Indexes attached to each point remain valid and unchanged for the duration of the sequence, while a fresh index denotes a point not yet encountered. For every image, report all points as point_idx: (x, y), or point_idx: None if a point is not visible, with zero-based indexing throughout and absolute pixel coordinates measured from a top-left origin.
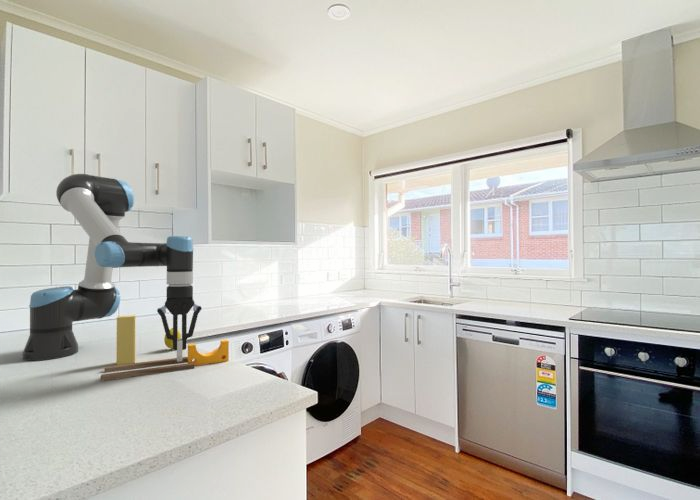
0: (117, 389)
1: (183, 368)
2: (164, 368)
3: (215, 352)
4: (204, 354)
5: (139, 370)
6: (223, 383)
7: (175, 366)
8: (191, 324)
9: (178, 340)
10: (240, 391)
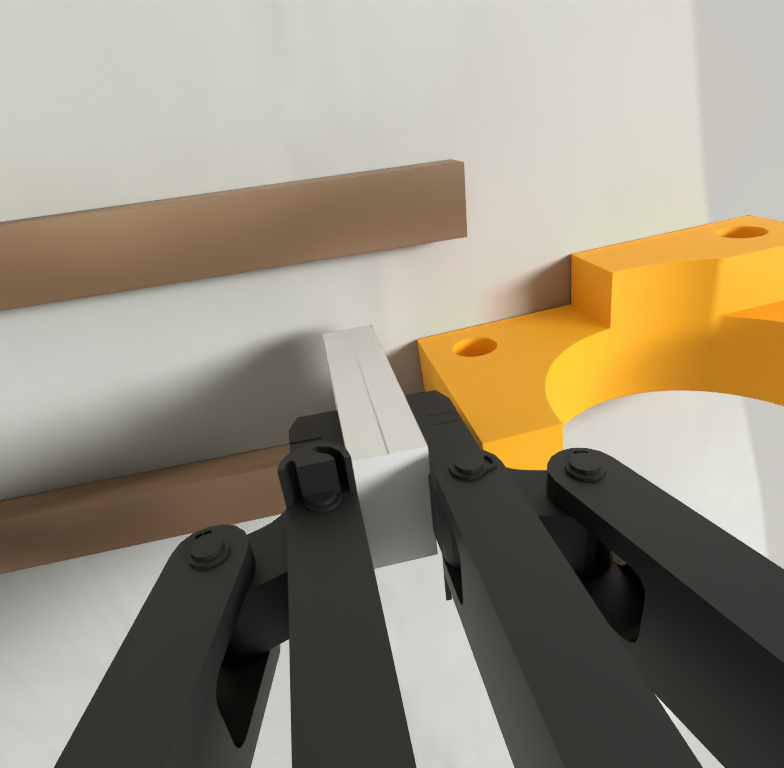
0: (48, 728)
1: None
2: (251, 519)
3: (696, 357)
4: (594, 340)
5: (40, 537)
6: None
7: None
8: (718, 755)
9: (383, 560)
10: None
